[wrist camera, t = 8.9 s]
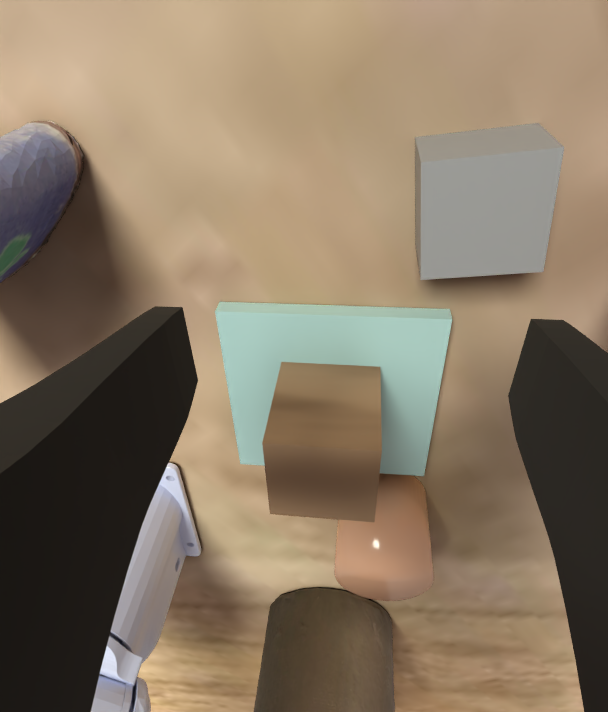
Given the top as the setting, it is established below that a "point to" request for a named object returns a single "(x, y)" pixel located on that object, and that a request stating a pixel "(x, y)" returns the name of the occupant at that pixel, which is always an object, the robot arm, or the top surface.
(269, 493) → the walnut block
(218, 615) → the top surface
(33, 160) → the flask
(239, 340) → the coaster
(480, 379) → the top surface
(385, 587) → the peach domed cylinder
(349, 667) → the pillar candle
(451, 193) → the grey square block
